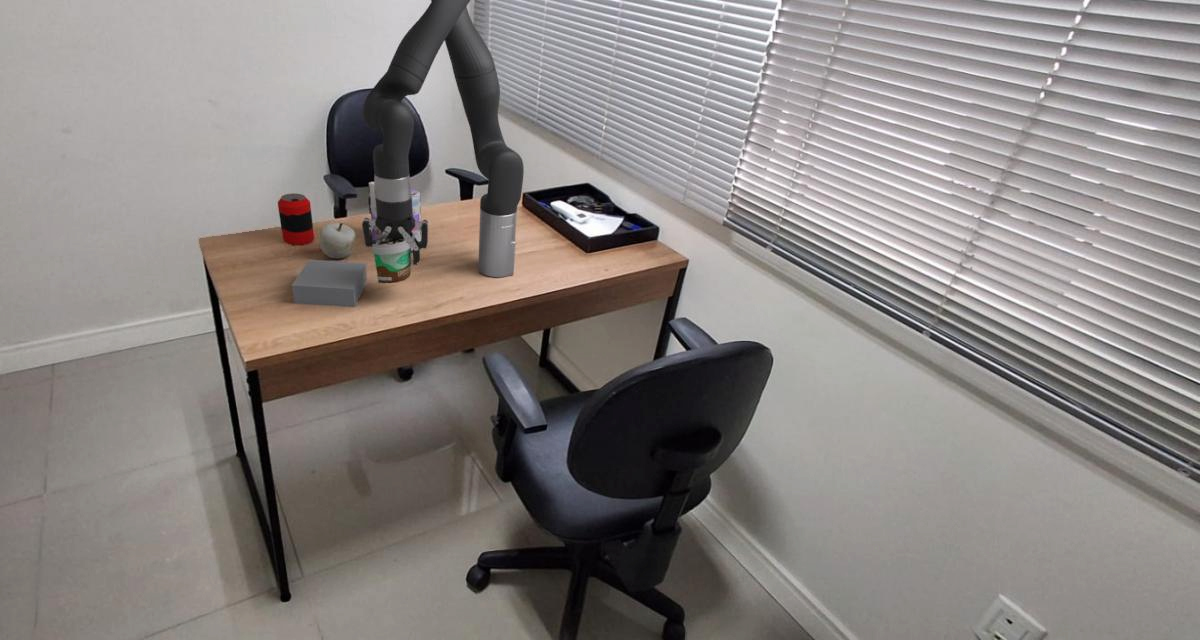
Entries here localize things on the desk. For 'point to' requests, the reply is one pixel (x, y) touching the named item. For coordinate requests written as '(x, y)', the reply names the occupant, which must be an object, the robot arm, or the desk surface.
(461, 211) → the desk surface
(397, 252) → the food container
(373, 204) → the candy box
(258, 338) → the desk surface
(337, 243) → the decorative object
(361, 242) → the desk surface
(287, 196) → the soda can
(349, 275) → the grey block
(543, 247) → the desk surface
